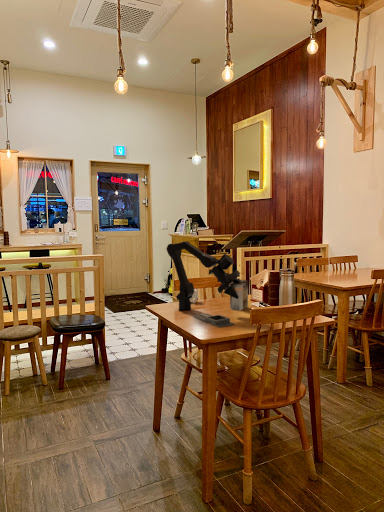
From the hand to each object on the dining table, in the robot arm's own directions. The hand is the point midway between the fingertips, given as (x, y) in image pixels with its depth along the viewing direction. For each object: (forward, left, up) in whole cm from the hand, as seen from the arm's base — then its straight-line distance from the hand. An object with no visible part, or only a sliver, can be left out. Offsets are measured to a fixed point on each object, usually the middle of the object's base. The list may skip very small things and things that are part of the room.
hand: (239, 297), depth 197 cm
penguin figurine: (-28, +38, -11) cm, 48 cm away
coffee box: (+2, +22, -11) cm, 24 cm away
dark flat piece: (-14, -7, -11) cm, 19 cm away
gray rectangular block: (-1, +1, -7) cm, 7 cm away
